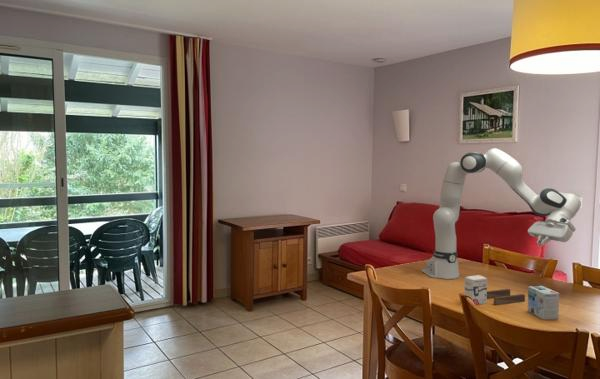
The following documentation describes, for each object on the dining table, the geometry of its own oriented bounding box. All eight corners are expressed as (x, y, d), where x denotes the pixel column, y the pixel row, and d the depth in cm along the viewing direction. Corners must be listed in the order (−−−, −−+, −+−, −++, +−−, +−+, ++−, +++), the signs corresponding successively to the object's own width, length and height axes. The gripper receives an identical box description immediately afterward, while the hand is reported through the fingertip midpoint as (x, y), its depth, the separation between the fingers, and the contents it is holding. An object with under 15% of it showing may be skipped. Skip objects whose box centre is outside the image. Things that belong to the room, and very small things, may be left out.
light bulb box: (527, 310, 181) (527, 285, 180) (542, 310, 181) (542, 285, 181) (543, 320, 170) (544, 293, 170) (559, 319, 171) (560, 292, 170)
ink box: (472, 305, 188) (472, 279, 187) (464, 302, 192) (464, 276, 192) (487, 303, 191) (487, 277, 190) (478, 300, 195) (479, 274, 195)
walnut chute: (480, 298, 198) (480, 292, 198) (507, 294, 203) (507, 288, 203) (496, 305, 188) (496, 298, 188) (524, 301, 193) (524, 294, 193)
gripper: (534, 215, 212) (518, 236, 210) (572, 220, 193) (555, 243, 190) (541, 224, 214) (525, 244, 211) (579, 230, 194) (562, 252, 192)
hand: (539, 244), depth 201 cm, fingers closed
